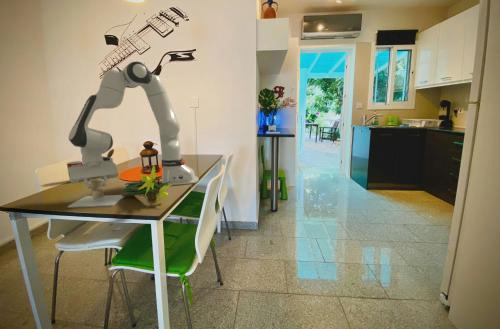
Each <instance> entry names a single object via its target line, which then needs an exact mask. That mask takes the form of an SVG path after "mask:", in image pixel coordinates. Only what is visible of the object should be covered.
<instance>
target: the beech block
mask: <svg viewBox="0 0 500 329" xmlns="http://www.w3.org/2000/svg"><path fill="white" fill-rule="evenodd" d="M89 182H90V183H89V184H91V188H90V189H91V194H92V195H91V196H93V199H98V198H104V196H105V195H104V194H105V193H104V189H103V188H104V186H102V182H103V179H101V178H93V179H90V181H89Z"/></svg>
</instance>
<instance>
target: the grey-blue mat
mask: <svg viewBox="0 0 500 329" xmlns="http://www.w3.org/2000/svg"><path fill="white" fill-rule="evenodd" d="M122 195H123V194H115V195H114V194H113V195H111V194H110V195H104V198H98V199H93V196H92V195H86V196H84V197H82V198H79V199H78V200H76V201H75V202H73V203H71V204H69V205H68V206H67V208H89V207H90V208H93V207H96V208H97V207H114V206H115V205H117V204H118V203H119V202H120V201H122V200H123V199H124V198H125V197H126V196H124V197H123V196H122Z"/></svg>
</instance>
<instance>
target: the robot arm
mask: <svg viewBox="0 0 500 329" xmlns="http://www.w3.org/2000/svg"><path fill="white" fill-rule="evenodd" d="M137 87H141V88H142V89H143V90H144V93H145V95H146V98H147V100H148V103H149V107H150V108H151V110H152V114H153V115H154V118H155V120H156V123H157V125H158V129H159V131H158V132H159V133H158V134H159V141H160V147H161V148H160V150H161V169H162V175H161V176H162V177H161V184H164V183H166V182H169V181H170V182H169V183H168V184H166V186H167V185H171V184H172V185H171V186H177V185H187V184H188V185H189V184H190V185H191V184H196V183H197V182H199V179H200V178H199V176H196V175H195V171H194V169H193V168H191V167H190V166H188V165H187V164H185V159H184V158H182V155H181V153H182V152H181V143H180V137H179V132H180V129H181V127H180V123H179V121H178V118H177V116H176V114H175V111H174V108H173V107H172V103H171V101H170V98H169V96H168V93H167V90H166V87H165V85H164V83H163V82H162V80H161V78H160V76H158V75H156V74H153V73H152V72H151V70H150V69H149V68H148V67H147V66H146V65H145V64H144V63H142V62H140V61H131V62H129V63H128V64H127V65H126V66H125V67H124V68H123V69H122V70H117V69H108V70H106V71H105V73H104V75H103V77H102V79H101V81H100V85H99V88H98V91H97V92H96V93H95V94H91V95H90V96H89V97H88V99H87V100H86V101H85V103H84V106H82V110H80V113H79V115H78V118H77V119H76V121H75V123H74V125H73V126H72V128H71V130H70V131H69V134H68V141H69V142H70V144H72V146H74V147H76V148H80V153H81V156H82V157H81V161H82V164H81V165H73V166H71V167H69V168H68V167H67V173H68V172H69V173H70V176H69V175H68V178H69V177H70V179H69V182H70V183H72V184H78V183H83V184H84V185H86V187H87V189H91V183H89V182H90V179H93V178H101V180H103V181H102V187H106V185H107V184H106V183H107V181H108V180H109V179H114V178H116V179H117V178H118V177H119V169H118V167H117V165H116V163H115V162H114V160H113V158H112V157H107V156H103V155H104V154H106V153H107V152H109V151H111V150H112V149H113V148H112V147H113V144H114V140H113V137H112V135H111V133H109V132H105V131H101V130H98V129H95V128H90V127H88V126H89V124H90V122H91V119H92V118H93V116H94V113H95V112H96V111H98V110H100V109H101V110H102V109H104V110H105V109H115V108H118V107H120V105H121V104H122V103H123V101H124V96H125V90H126V89H127V88H129V89H135V88H137ZM69 173H68V174H69Z"/></svg>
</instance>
